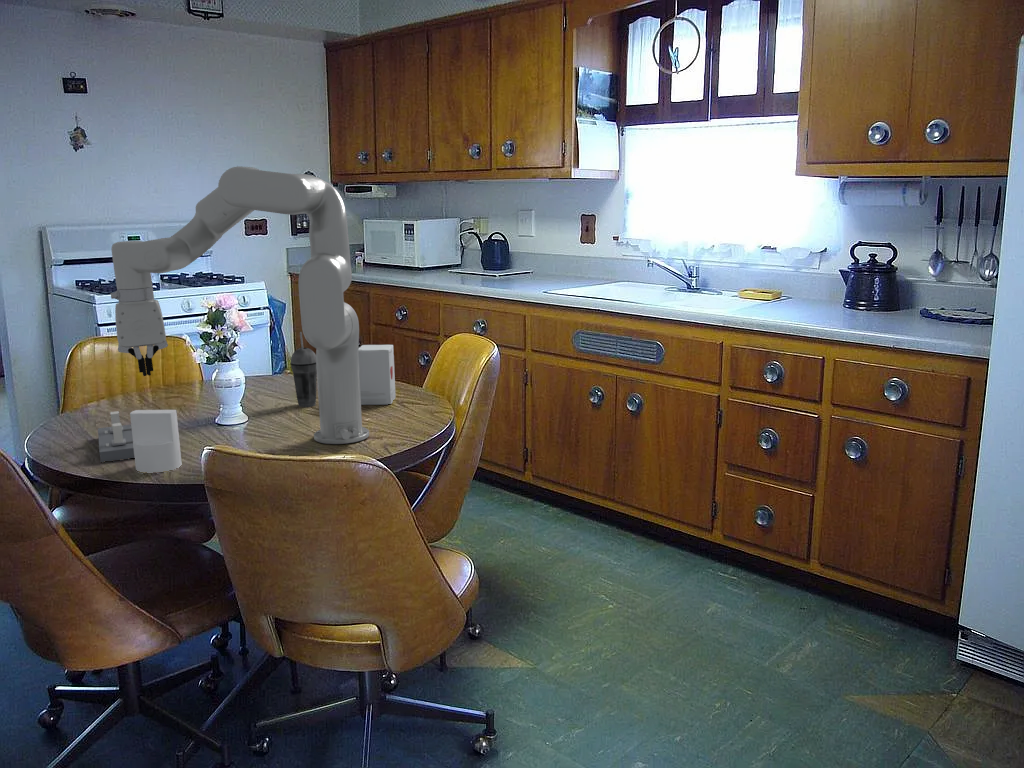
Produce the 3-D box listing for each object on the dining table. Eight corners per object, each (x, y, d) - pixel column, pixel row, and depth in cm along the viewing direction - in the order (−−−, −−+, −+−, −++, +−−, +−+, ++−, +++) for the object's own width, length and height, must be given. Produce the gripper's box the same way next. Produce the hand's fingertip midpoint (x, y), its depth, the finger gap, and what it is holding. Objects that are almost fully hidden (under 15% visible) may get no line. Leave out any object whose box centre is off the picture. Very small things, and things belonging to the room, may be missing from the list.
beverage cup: (324, 402, 242) (319, 329, 238) (316, 408, 235) (311, 333, 231) (298, 401, 243) (293, 329, 238) (289, 408, 236) (283, 333, 231)
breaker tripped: (123, 431, 205) (121, 413, 204) (110, 432, 204) (108, 415, 203) (122, 427, 209) (120, 410, 208) (109, 429, 207) (107, 411, 207)
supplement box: (391, 405, 237) (389, 349, 234) (358, 405, 238) (354, 350, 234) (396, 397, 246) (394, 343, 243) (364, 397, 246) (361, 344, 243)
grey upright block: (188, 460, 191) (183, 406, 189) (171, 473, 182) (165, 416, 180) (147, 460, 191) (141, 406, 189) (128, 473, 183) (121, 417, 180)
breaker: (126, 444, 195) (124, 425, 194) (112, 445, 194) (110, 427, 193) (125, 440, 198) (123, 421, 197) (111, 441, 197) (109, 423, 196)
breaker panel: (180, 452, 197) (179, 441, 196) (100, 463, 190) (99, 451, 190) (171, 429, 216) (170, 419, 216) (99, 438, 210) (97, 427, 209)
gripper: (100, 300, 196) (112, 382, 200) (172, 294, 202) (182, 373, 206) (99, 297, 203) (111, 376, 207) (169, 291, 209) (179, 368, 213)
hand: (146, 374), depth 207 cm, fingers closed
